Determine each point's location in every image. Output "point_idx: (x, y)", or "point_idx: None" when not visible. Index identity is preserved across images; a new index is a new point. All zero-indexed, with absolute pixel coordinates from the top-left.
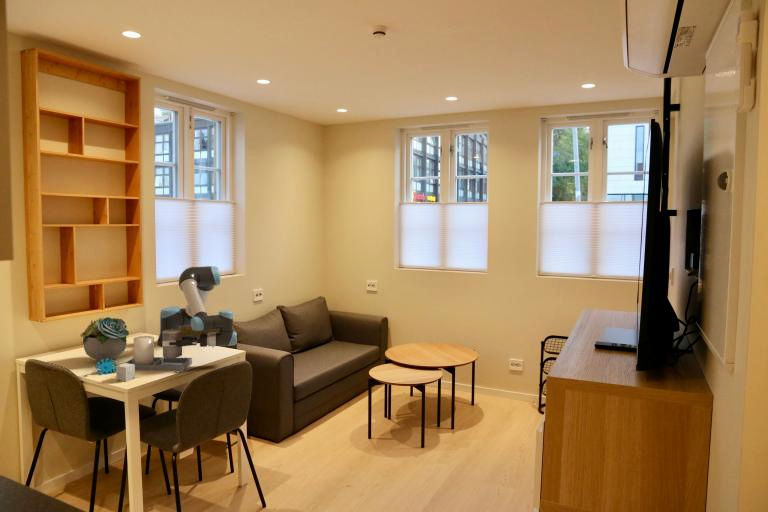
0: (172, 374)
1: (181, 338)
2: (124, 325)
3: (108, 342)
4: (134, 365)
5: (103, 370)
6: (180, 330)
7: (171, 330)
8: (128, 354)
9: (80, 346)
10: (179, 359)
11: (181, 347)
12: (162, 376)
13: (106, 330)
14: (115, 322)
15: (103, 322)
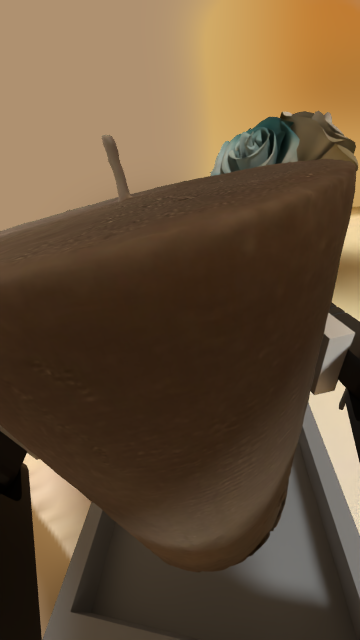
0: (59, 538)
1: (122, 492)
2: (337, 148)
3: None
4: None
5: None
6: (44, 249)
7: (145, 193)
8: (356, 269)
9: (356, 212)
10: (325, 509)
11: (167, 547)
12: (49, 477)
13: (213, 170)
14: (253, 132)
15: (237, 136)
